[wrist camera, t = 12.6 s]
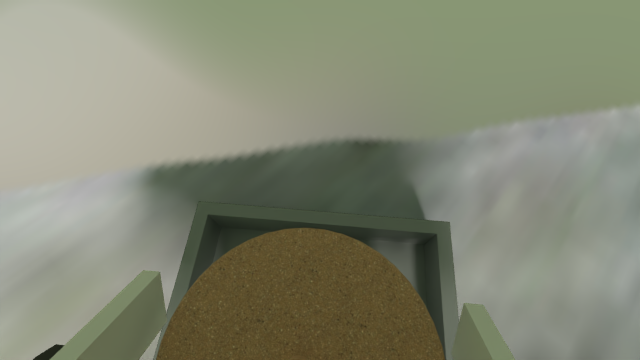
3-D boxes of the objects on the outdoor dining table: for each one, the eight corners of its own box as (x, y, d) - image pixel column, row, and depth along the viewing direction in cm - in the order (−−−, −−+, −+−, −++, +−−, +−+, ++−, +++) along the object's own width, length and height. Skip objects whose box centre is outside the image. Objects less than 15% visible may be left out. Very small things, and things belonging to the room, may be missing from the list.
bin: (431, 237, 21) (449, 221, 18) (452, 551, 15) (485, 613, 12) (216, 218, 22) (198, 201, 19) (144, 505, 16) (97, 550, 13)
